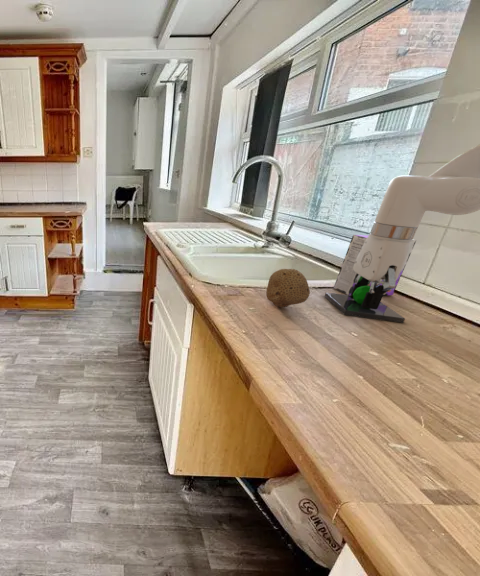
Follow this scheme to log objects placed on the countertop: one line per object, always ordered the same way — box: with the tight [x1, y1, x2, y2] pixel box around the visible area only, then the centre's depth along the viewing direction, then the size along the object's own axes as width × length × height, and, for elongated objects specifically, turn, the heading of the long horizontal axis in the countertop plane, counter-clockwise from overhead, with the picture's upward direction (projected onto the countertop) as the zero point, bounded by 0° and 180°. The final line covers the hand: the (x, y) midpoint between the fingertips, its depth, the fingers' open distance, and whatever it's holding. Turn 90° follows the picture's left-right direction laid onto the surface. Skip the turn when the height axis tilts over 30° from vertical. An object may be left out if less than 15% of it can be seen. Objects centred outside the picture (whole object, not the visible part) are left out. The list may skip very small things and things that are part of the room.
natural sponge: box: [265, 268, 311, 308], centre depth 75 cm, size 9×9×10 cm
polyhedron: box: [353, 286, 370, 305], centre depth 77 cm, size 5×5×5 cm
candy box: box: [333, 234, 417, 296], centre depth 86 cm, size 14×6×16 cm, turn 94°
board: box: [324, 292, 406, 324], centre depth 78 cm, size 12×12×1 cm
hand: (363, 302), depth 78 cm, fingers closed on polyhedron, 5 cm apart
